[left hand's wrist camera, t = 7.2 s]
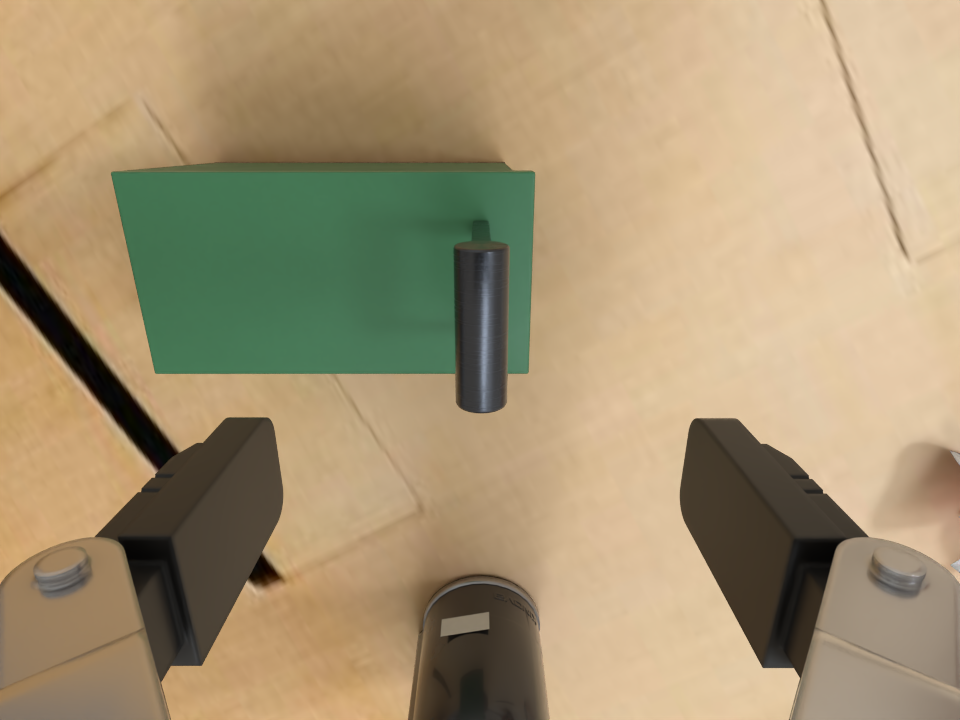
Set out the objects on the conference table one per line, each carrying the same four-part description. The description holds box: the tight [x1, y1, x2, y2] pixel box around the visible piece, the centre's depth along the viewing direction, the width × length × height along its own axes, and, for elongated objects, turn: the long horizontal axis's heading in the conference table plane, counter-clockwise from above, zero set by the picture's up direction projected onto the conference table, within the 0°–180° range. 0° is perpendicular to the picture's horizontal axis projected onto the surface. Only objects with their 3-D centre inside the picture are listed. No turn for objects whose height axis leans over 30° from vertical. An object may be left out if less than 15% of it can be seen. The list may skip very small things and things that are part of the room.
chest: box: [127, 162, 512, 171], centre depth 31 cm, size 17×9×10 cm, turn 90°
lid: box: [111, 171, 535, 413], centre depth 22 cm, size 18×9×9 cm, turn 90°
